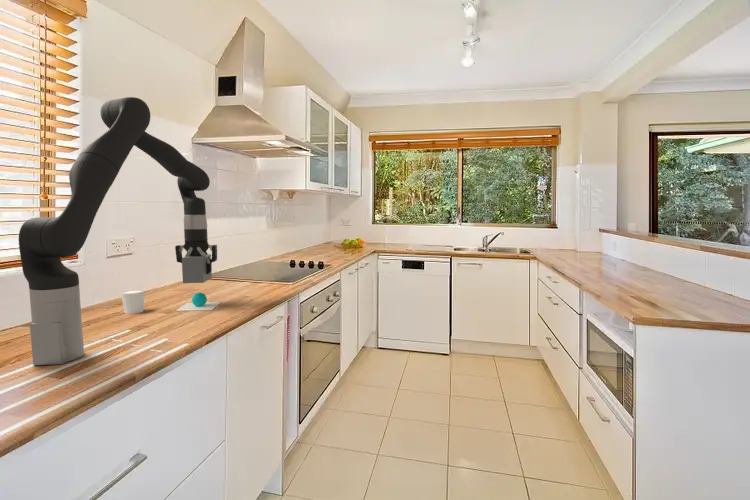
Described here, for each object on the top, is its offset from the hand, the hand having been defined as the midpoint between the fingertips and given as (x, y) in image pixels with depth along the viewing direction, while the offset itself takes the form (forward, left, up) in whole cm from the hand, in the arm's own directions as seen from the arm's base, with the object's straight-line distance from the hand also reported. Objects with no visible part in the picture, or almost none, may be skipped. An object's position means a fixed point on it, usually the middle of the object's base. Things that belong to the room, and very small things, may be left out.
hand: (197, 273), depth 148 cm
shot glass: (-5, +20, -12) cm, 24 cm away
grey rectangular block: (0, 0, -2) cm, 2 cm away
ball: (0, 0, -9) cm, 9 cm away
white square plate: (0, 0, -12) cm, 12 cm away
